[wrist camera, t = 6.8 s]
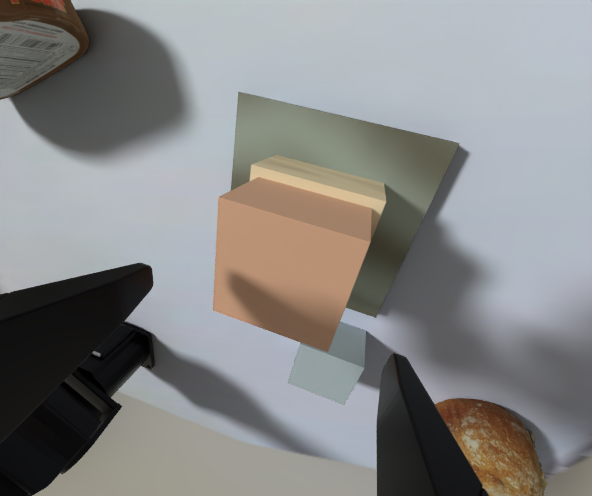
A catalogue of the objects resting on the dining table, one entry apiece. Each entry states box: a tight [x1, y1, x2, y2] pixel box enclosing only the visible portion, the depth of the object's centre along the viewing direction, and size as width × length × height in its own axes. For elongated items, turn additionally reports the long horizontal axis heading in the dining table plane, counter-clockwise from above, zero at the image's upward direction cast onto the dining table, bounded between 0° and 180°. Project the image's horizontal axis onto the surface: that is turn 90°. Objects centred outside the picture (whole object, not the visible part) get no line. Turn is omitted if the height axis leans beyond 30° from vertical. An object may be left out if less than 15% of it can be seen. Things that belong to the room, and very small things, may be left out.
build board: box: [231, 92, 459, 317], centre depth 17 cm, size 13×13×5 cm
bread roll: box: [435, 398, 547, 496], centre depth 23 cm, size 10×10×8 cm
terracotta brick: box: [213, 177, 372, 352], centre depth 13 cm, size 6×6×4 cm
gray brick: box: [288, 322, 366, 405], centre depth 22 cm, size 5×5×4 cm
